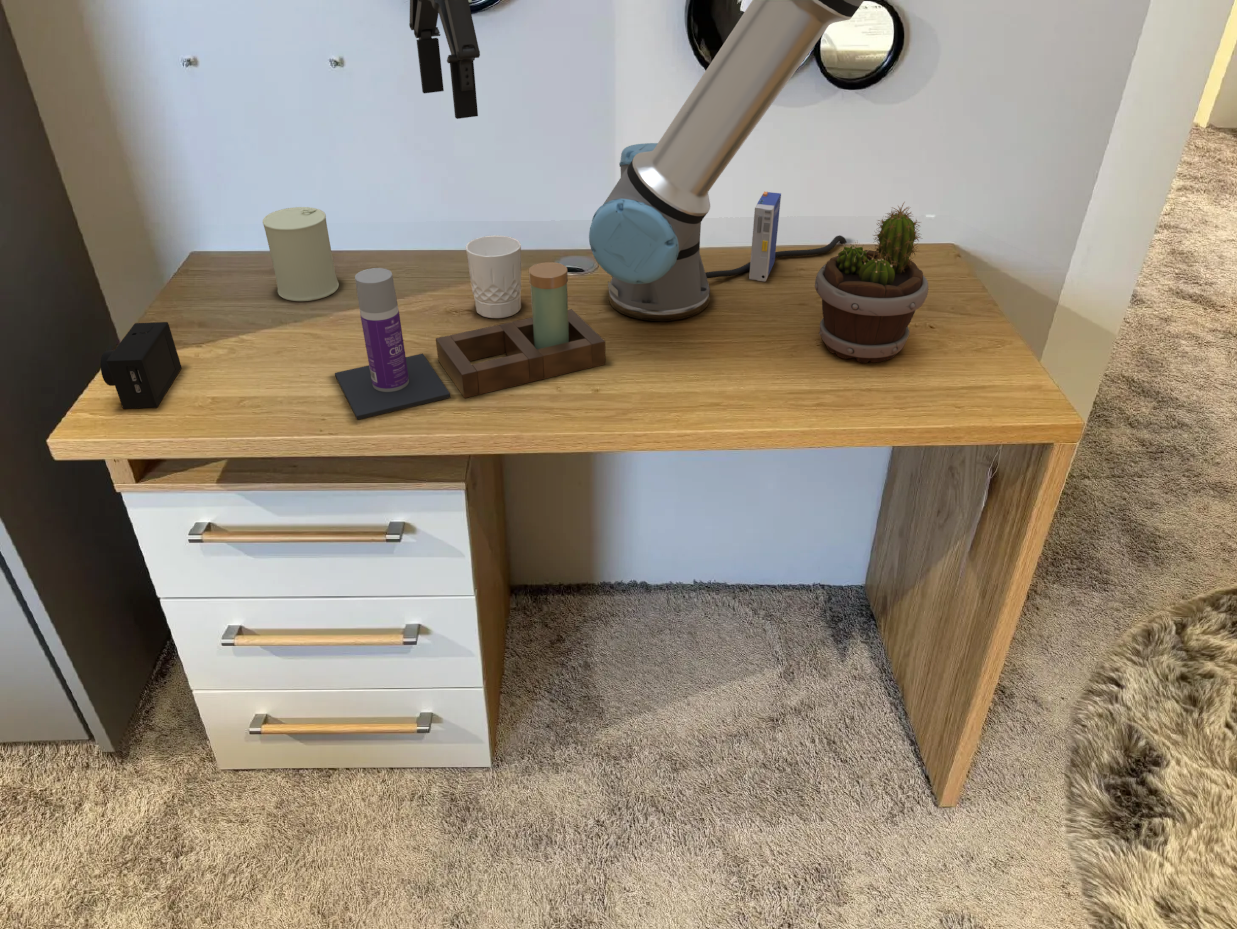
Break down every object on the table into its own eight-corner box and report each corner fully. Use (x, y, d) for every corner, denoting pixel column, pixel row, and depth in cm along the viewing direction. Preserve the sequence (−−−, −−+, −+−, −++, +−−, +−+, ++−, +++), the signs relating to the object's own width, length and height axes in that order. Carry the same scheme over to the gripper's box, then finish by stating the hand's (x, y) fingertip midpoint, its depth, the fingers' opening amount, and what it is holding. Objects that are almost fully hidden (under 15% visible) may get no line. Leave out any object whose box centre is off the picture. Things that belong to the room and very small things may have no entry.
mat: (423, 357, 131) (422, 353, 131) (450, 397, 122) (450, 393, 122) (335, 376, 127) (334, 372, 126) (357, 420, 118) (356, 416, 118)
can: (351, 284, 150) (338, 210, 144) (306, 306, 144) (291, 230, 137) (310, 272, 155) (295, 199, 148) (265, 292, 148) (247, 217, 141)
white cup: (534, 303, 145) (530, 240, 139) (507, 324, 139) (502, 259, 133) (489, 294, 148) (484, 231, 142) (461, 314, 142) (455, 250, 136)
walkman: (757, 260, 158) (764, 189, 151) (774, 262, 157) (781, 191, 150) (748, 279, 152) (754, 205, 145) (765, 281, 151) (772, 207, 144)
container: (401, 393, 122) (384, 284, 113) (366, 390, 123) (347, 281, 114) (414, 375, 126) (399, 268, 117) (381, 372, 126) (363, 265, 118)
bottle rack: (572, 330, 137) (571, 308, 135) (605, 364, 129) (605, 341, 127) (438, 361, 130) (435, 338, 128) (464, 398, 122) (461, 374, 120)
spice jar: (561, 344, 134) (558, 259, 127) (576, 359, 130) (573, 273, 123) (528, 351, 132) (523, 266, 125) (542, 367, 129) (537, 280, 121)
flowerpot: (852, 383, 125) (875, 236, 113) (786, 334, 136) (802, 196, 125) (939, 360, 130) (970, 217, 119) (869, 314, 141) (891, 180, 130)
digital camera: (140, 369, 129) (125, 322, 125) (182, 367, 129) (167, 320, 125) (112, 409, 120) (95, 360, 116) (157, 408, 120) (141, 359, 116)
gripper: (370, -95, 118) (393, 85, 130) (430, -75, 100) (451, 132, 112) (429, -98, 121) (446, 79, 133) (498, -79, 102) (511, 124, 115)
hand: (449, 104), depth 122 cm, fingers open, 13 cm apart
